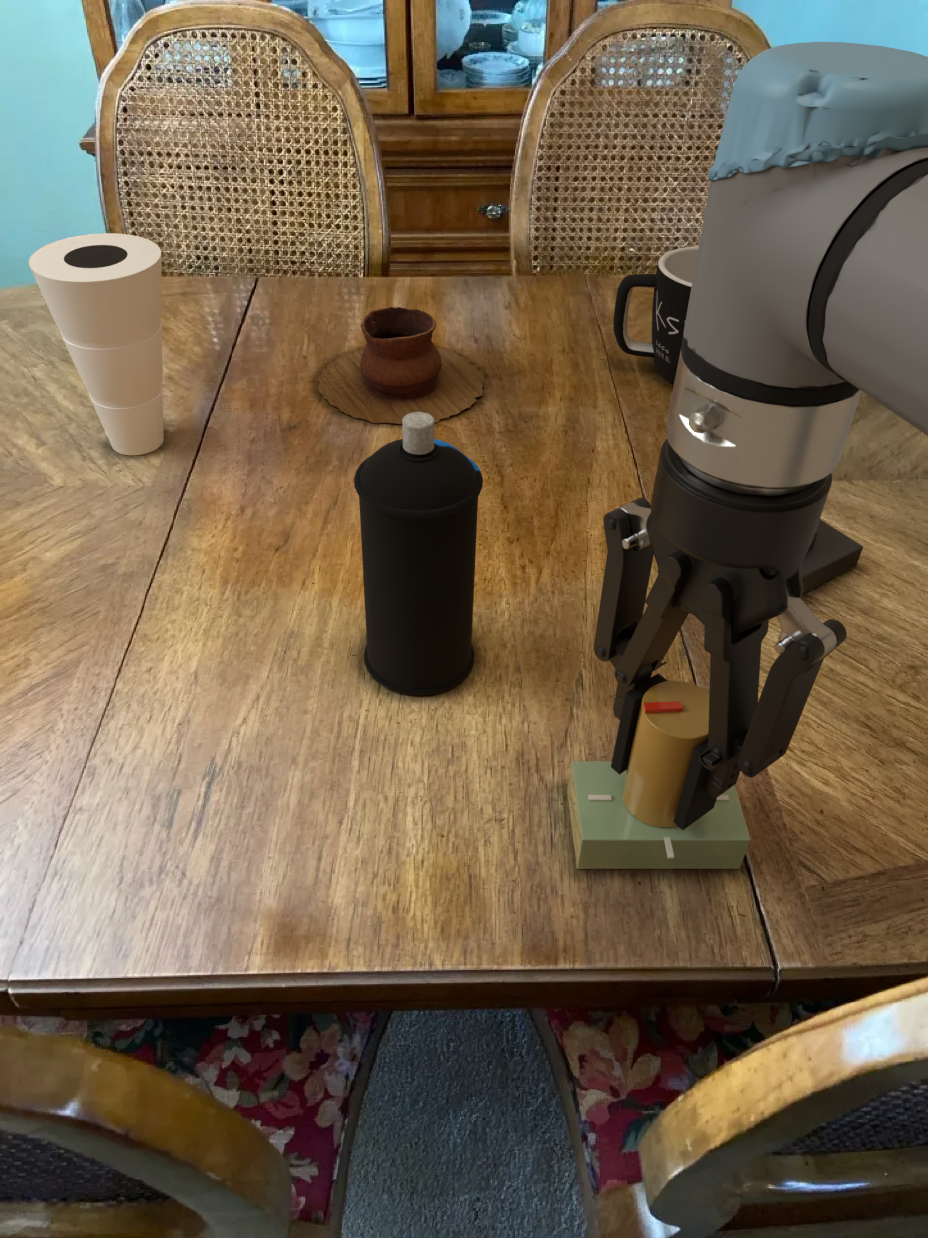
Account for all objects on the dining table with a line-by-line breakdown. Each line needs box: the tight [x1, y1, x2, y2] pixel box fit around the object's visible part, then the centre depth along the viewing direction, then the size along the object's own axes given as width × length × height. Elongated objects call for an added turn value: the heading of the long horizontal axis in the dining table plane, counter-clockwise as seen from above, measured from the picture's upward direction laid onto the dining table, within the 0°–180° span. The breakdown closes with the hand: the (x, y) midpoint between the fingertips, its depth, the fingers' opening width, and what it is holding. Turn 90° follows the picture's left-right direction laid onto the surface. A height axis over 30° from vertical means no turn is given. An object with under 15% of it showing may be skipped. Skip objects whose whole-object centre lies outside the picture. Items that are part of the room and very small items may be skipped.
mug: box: [612, 245, 699, 385], centre depth 103 cm, size 16×16×12 cm
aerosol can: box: [353, 412, 484, 696], centre depth 65 cm, size 8×8×20 cm
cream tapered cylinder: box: [28, 232, 164, 456], centre depth 87 cm, size 11×11×18 cm
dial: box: [622, 680, 710, 828], centre depth 56 cm, size 4×4×8 cm
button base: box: [801, 518, 864, 594], centre depth 81 cm, size 11×10×4 cm
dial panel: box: [566, 760, 752, 870], centre depth 60 cm, size 10×9×3 cm
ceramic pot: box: [316, 306, 486, 425], centre depth 101 cm, size 18×18×7 cm
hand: (661, 786), depth 58 cm, fingers closed on dial, 4 cm apart
